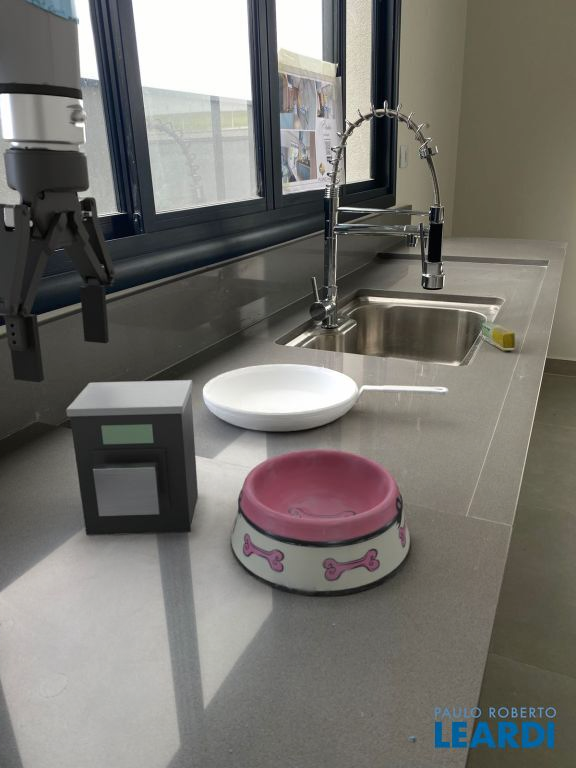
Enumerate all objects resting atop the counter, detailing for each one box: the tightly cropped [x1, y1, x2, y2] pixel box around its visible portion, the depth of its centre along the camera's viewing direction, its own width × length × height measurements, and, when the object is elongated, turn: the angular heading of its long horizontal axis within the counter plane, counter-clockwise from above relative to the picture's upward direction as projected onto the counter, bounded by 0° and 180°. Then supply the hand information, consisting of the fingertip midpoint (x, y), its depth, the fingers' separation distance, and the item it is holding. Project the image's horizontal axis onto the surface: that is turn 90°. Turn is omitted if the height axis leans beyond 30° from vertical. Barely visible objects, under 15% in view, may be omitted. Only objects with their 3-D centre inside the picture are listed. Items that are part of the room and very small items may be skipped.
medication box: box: [481, 321, 516, 352], centre depth 134 cm, size 12×3×4 cm, turn 5°
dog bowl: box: [229, 448, 412, 597], centre depth 62 cm, size 18×19×7 cm
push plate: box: [93, 462, 161, 516], centre depth 60 cm, size 1×6×5 cm, turn 92°
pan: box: [202, 363, 449, 432], centre depth 97 cm, size 25×39×4 cm, turn 82°
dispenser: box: [65, 379, 199, 536], centre depth 66 cm, size 8×11×14 cm
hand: (66, 359), depth 65 cm, fingers open, 13 cm apart
